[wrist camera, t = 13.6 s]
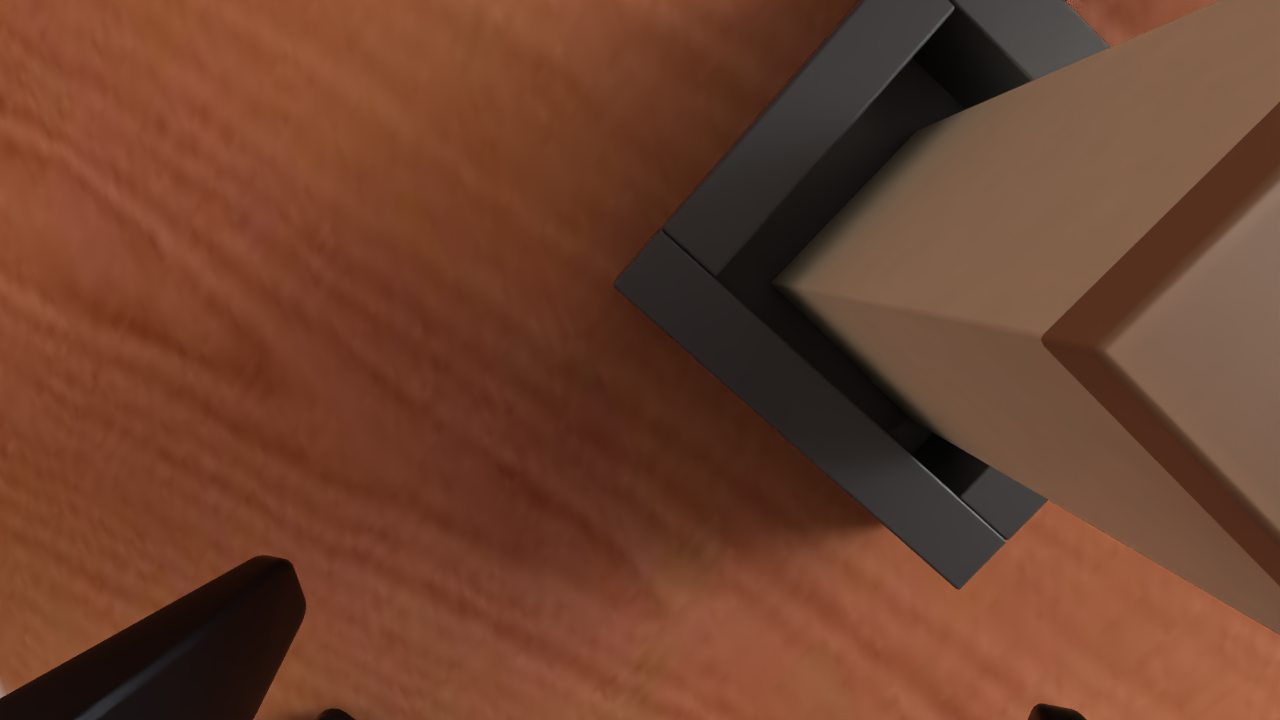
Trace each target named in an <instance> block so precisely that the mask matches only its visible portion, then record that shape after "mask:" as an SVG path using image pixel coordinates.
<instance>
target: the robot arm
mask: <svg viewBox="0 0 1280 720" xmlns="http://www.w3.org/2000/svg"><path fill="white" fill-rule="evenodd" d="M305 611H306V601H305V597H304V594H303V592H302V589H301V586H300V583H299V580H298V577H297V575H296V572H295V569H294V567H293V565H292V563H291V562H290V561H288V560H287V559H283V558H277V557H272V556H267V555H261V556H257V557H254V558H252V559H250V560H248V561H246V562H244V563H243V564H241V565H239V566H237V567H235V568H234V569H232V570H230V571H228V572H226V573H225V574H223V575H221V576H219V577H217V578H216V579H214V580H212V581H210V582H208V583H207V584H205V585H203V586H201V587H200V588H198V589H196V590H194V591H192V592H191V593H189V594H187V595H185V596H183V597H182V598H180V599H178V600H176V601H174V602H173V603H171V604H169V605H167V606H165V607H164V608H162V609H160V610H158V611H156V612H155V613H153V614H151V615H149V616H147V617H146V618H144V619H142V620H140V621H138V622H137V623H135V624H133V625H131V626H130V627H128V628H126V629H124V630H122V631H121V632H119V633H117V634H115V635H113V636H112V637H110V638H108V639H106V640H104V641H103V642H101V643H99V644H97V645H95V646H94V647H92V648H90V649H88V650H86V651H85V652H83V653H81V654H79V655H77V656H76V657H74V658H72V659H70V660H69V661H67V662H65V663H63V664H61V665H60V666H58V667H56V668H54V669H52V670H51V671H49V672H47V673H45V674H43V675H42V676H40V677H38V678H36V679H34V680H33V681H31V682H29V683H27V684H25V685H24V686H22V687H20V688H18V689H16V690H15V691H13V692H11V693H9V694H7V695H6V696H4V697H2V698H0V720H253V719H254V717H255V715H256V713H257V711H258V709H259V707H260V705H261V703H262V701H263V699H264V697H265V695H266V693H267V691H268V689H269V687H270V685H271V683H272V681H273V679H274V677H275V675H276V673H277V671H278V669H279V667H280V665H281V663H282V661H283V659H284V657H285V655H286V653H287V651H288V649H289V647H290V645H291V643H292V641H293V639H294V637H295V635H296V633H297V631H298V629H299V627H300V625H301V623H302V621H303V619H304V615H305ZM316 720H355V719H354V718H352V717H351V716H350V715H348V714H347V713H346V712H344V711H342V710H340V709H329V710H325V711H324V712H323V713H321V714H320V715H319V716H318V717H317V718H316ZM1028 720H1086V719H1085V718H1084V717H1083V716H1082V715H1081V714H1080V713H1079V712H1077V711H1075V710H1072V709H1068V708H1063V707H1058V706H1053V705H1048V704H1038V705H1036V706H1034V708H1033V709H1032V711H1031V713H1030V715H1029V718H1028Z"/></svg>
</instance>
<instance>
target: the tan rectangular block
mask: <svg viewBox="0 0 1280 720" xmlns="http://www.w3.org/2000/svg"><path fill="white" fill-rule="evenodd" d="M772 285H773V286H774V287H775V288H776V289H777V290H778V291H779V292H780V293H781V294H782V295H783V296H784V297H785V298H786V299H787V300H788V301H789V302H790V303H791V304H792V305H794V306H795V307H796V308H797V309H798V310H799V311H800V312H801V313H802V314H803V315H804V316H805V317H806V318H807V319H808V320H809V321H810V322H811V323H812V324H813V325H814V326H815V327H816V328H817V329H818V330H819V331H820V332H821V333H822V334H823V335H824V336H825V337H826V338H827V339H828V340H829V341H830V342H832V343H833V344H834V345H835V346H836V347H837V348H838V349H839V350H840V351H841V352H842V353H843V354H844V355H845V356H846V357H847V358H848V359H849V360H850V361H851V362H852V363H853V364H854V365H855V366H856V367H857V368H858V369H859V370H860V371H861V372H862V373H863V374H864V375H865V376H866V377H867V378H868V379H869V380H871V381H872V382H873V383H874V384H875V385H876V386H877V387H878V388H879V389H880V390H881V391H882V392H883V393H884V394H885V395H886V396H887V397H888V398H889V399H890V400H891V401H892V402H893V403H894V404H895V405H896V406H897V407H898V408H899V409H900V410H901V411H902V412H903V413H904V414H905V415H906V416H907V417H908V418H910V419H911V420H912V421H914V422H916V423H918V424H919V425H921V426H923V427H924V428H926V429H928V430H930V431H931V432H933V433H935V434H936V435H938V436H940V437H942V438H943V439H945V440H947V441H948V442H950V443H952V444H954V445H955V446H957V447H959V448H960V449H962V450H964V451H966V452H967V453H969V454H971V455H972V456H974V457H976V458H978V459H979V460H981V461H983V462H984V463H986V464H988V465H990V466H991V467H993V468H995V469H996V470H998V471H1000V472H1002V473H1003V474H1005V475H1007V476H1008V477H1010V478H1012V479H1014V480H1015V481H1017V482H1019V483H1020V484H1022V485H1024V486H1026V487H1027V488H1029V489H1031V490H1032V491H1034V492H1036V493H1038V494H1039V495H1041V496H1043V497H1044V498H1046V499H1048V500H1050V501H1051V502H1053V503H1055V504H1056V505H1058V506H1060V507H1062V508H1063V509H1065V510H1067V511H1068V512H1070V513H1072V514H1074V515H1075V516H1077V517H1079V518H1080V519H1082V520H1084V521H1086V522H1087V523H1089V524H1091V525H1092V526H1094V527H1096V528H1098V529H1099V530H1101V531H1103V532H1104V533H1106V534H1108V535H1110V536H1111V537H1113V538H1115V539H1116V540H1118V541H1120V542H1122V543H1123V544H1125V545H1127V546H1128V547H1130V548H1132V549H1134V550H1135V551H1137V552H1139V553H1140V554H1142V555H1144V556H1146V557H1147V558H1149V559H1151V560H1152V561H1154V562H1156V563H1158V564H1159V565H1161V566H1163V567H1164V568H1166V569H1168V570H1170V571H1171V572H1173V573H1175V574H1176V575H1178V576H1180V577H1182V578H1183V579H1185V580H1187V581H1188V582H1190V583H1192V584H1194V585H1195V586H1197V587H1199V588H1200V589H1202V590H1204V591H1206V592H1207V593H1209V594H1211V595H1212V596H1214V597H1216V598H1217V599H1219V600H1221V601H1223V602H1224V603H1226V604H1228V605H1229V606H1231V607H1233V608H1235V609H1236V610H1238V611H1240V612H1241V613H1243V614H1245V615H1247V616H1248V617H1250V618H1252V619H1253V620H1255V621H1257V622H1259V623H1260V624H1262V625H1264V626H1265V627H1267V628H1269V629H1271V630H1272V631H1274V632H1276V633H1277V634H1279V635H1280V0H1220V1H1217V2H1215V3H1213V4H1210V5H1208V6H1206V7H1203V8H1201V9H1199V10H1196V11H1194V12H1192V13H1189V14H1187V15H1185V16H1183V17H1180V18H1178V19H1176V20H1173V21H1171V22H1169V23H1166V24H1164V25H1162V26H1159V27H1157V28H1155V29H1152V30H1150V31H1148V32H1145V33H1143V34H1141V35H1138V36H1136V37H1134V38H1131V39H1129V40H1127V41H1124V42H1122V43H1120V44H1117V45H1115V46H1113V47H1110V48H1108V49H1106V50H1103V51H1101V52H1099V53H1096V54H1094V55H1092V56H1089V57H1087V58H1085V59H1082V60H1080V61H1078V62H1075V63H1073V64H1071V65H1068V66H1066V67H1064V68H1061V69H1059V70H1057V71H1055V72H1052V73H1050V74H1048V75H1045V76H1043V77H1041V78H1038V79H1036V80H1034V81H1031V82H1029V83H1027V84H1024V85H1022V86H1020V87H1017V88H1015V89H1013V90H1010V91H1008V92H1006V93H1003V94H1001V95H999V96H996V97H994V98H992V99H989V100H987V101H985V102H982V103H980V104H978V105H975V106H973V107H971V108H968V109H966V110H964V111H961V112H959V113H957V114H954V115H952V116H950V117H947V118H945V119H943V120H940V121H938V122H936V123H933V124H931V125H929V126H927V127H924V128H922V129H920V130H917V131H916V132H915V133H914V134H913V135H912V136H911V137H910V138H909V139H908V140H907V142H906V143H905V144H904V145H903V146H902V147H901V148H900V149H899V150H898V151H897V152H896V153H895V154H894V155H893V156H892V157H891V158H890V159H889V160H888V161H887V162H886V163H885V164H884V165H883V166H882V167H881V169H880V170H879V171H878V172H877V173H876V174H875V175H874V176H873V177H872V178H871V179H870V180H869V181H868V182H867V183H866V184H865V185H864V186H863V187H862V188H861V189H860V190H859V191H858V192H857V193H856V195H855V196H854V197H853V198H852V199H851V200H850V201H849V202H848V203H847V204H846V205H845V206H844V207H843V208H842V209H841V210H840V211H839V212H838V213H837V214H836V215H835V216H834V217H833V218H832V219H831V221H830V222H829V223H828V224H827V225H826V226H825V227H824V228H823V229H822V230H821V231H820V232H819V233H818V234H817V235H816V236H815V237H814V238H813V239H812V240H811V241H810V242H809V243H808V244H807V245H806V246H805V248H804V249H803V250H802V251H801V252H800V253H799V254H798V255H797V256H796V257H795V258H794V259H793V260H792V261H791V262H790V263H789V264H788V265H787V266H786V267H785V268H784V269H783V270H782V271H781V272H780V274H779V275H778V276H777V277H776V278H775V279H774V280H773V281H772Z"/></svg>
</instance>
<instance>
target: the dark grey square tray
mask: <svg viewBox="0 0 1280 720" xmlns="http://www.w3.org/2000/svg"><path fill="white" fill-rule="evenodd" d="M1108 48H1110V46H1109V45H1108V44H1107V43H1106V42H1105V41H1104V40H1103V39H1102V38H1101V37H1100V36H1099V35H1098V34H1097V33H1096V32H1095V31H1094V30H1093V29H1092V28H1091V27H1090V26H1089V25H1088V24H1087V23H1086V22H1085V21H1084V20H1083V19H1082V18H1081V17H1080V16H1079V15H1078V14H1077V13H1076V12H1075V11H1074V10H1073V9H1072V8H1071V7H1070V6H1069V5H1068V4H1067V3H1066V2H1065V1H1064V0H858V2H857V3H856V4H855V5H854V6H853V7H852V9H851V10H850V11H849V12H848V13H847V14H846V15H845V17H844V18H843V19H842V20H841V21H840V22H839V23H838V25H837V26H836V27H835V28H834V29H833V30H832V31H831V33H830V34H829V35H828V36H827V37H826V38H825V39H824V41H823V42H822V43H821V44H820V45H819V46H818V47H817V49H816V50H815V51H814V52H813V53H812V54H811V55H810V57H809V58H808V59H807V60H806V61H805V62H804V63H803V65H802V66H801V67H800V68H799V69H798V70H797V71H796V73H795V74H794V75H793V76H792V77H791V78H790V79H789V81H788V82H787V83H786V84H785V85H784V86H783V87H782V89H781V90H780V91H779V92H778V93H777V94H776V95H775V97H774V98H773V99H772V100H771V101H770V102H769V103H768V105H767V106H766V107H765V108H764V109H763V110H762V112H761V113H760V114H759V115H758V116H757V117H756V118H755V120H754V121H753V122H752V123H751V124H750V125H749V126H748V128H747V129H746V130H745V131H744V132H743V133H742V134H741V136H740V137H739V138H738V139H737V140H736V141H735V142H734V144H733V145H732V146H731V147H730V148H729V149H728V150H727V152H726V153H725V154H724V155H723V156H722V157H721V158H720V160H719V161H718V162H717V163H716V164H715V165H714V166H713V168H712V169H711V170H710V171H709V172H708V173H707V174H706V176H705V177H704V178H703V179H702V180H701V181H700V182H699V184H698V185H697V186H696V187H695V188H694V189H693V190H692V192H691V193H690V194H689V195H688V196H687V197H686V198H685V200H684V201H683V202H682V203H681V204H680V205H679V206H678V208H677V209H676V210H675V211H674V212H673V213H672V215H671V216H670V217H669V218H668V219H667V220H666V221H665V223H664V224H663V225H662V226H661V227H660V228H659V229H658V231H657V232H656V233H655V234H654V235H653V236H652V237H651V239H650V240H649V241H648V242H647V243H646V244H645V245H644V247H643V248H642V249H641V250H640V251H639V252H638V253H637V255H636V256H635V257H634V258H633V259H632V260H631V261H630V263H629V264H628V265H627V266H626V267H625V268H624V269H623V271H622V272H621V273H620V274H619V275H618V276H617V278H616V280H615V282H614V284H613V286H614V288H616V289H617V290H618V291H619V292H620V293H621V294H622V295H623V296H625V297H626V298H627V299H628V300H629V301H630V302H631V303H633V304H634V305H635V306H636V307H637V308H638V309H639V310H641V311H642V312H643V313H644V314H645V315H646V316H647V317H648V318H650V319H651V320H652V321H653V322H654V323H655V324H656V325H658V326H659V327H660V328H661V329H662V330H663V331H664V332H665V333H667V334H668V335H669V336H670V337H671V338H672V339H673V340H675V341H676V342H677V343H678V344H679V345H680V346H681V347H682V348H684V349H685V350H686V351H687V352H688V353H689V354H690V355H692V356H693V357H694V358H695V359H696V360H697V361H698V362H699V363H701V364H702V365H703V366H704V367H705V368H706V369H707V370H709V371H710V372H711V373H712V374H713V375H714V376H715V377H716V378H718V379H719V380H720V381H721V382H722V383H723V384H724V385H726V386H727V387H728V388H729V389H730V390H731V391H732V392H734V393H735V394H736V395H737V396H738V397H739V398H740V399H741V400H743V401H744V402H745V403H746V404H747V405H748V406H749V407H751V408H752V409H753V410H754V411H755V412H756V413H757V414H758V415H760V416H761V417H762V418H763V419H764V420H765V421H766V422H768V423H769V424H770V425H771V426H772V427H773V428H774V429H775V430H777V431H778V432H779V433H780V434H781V435H782V436H783V437H785V438H786V439H787V440H788V441H789V442H790V443H791V444H792V445H794V446H795V447H796V448H797V449H798V450H799V451H800V452H802V453H803V454H804V455H805V456H806V457H807V458H808V459H809V460H811V461H812V462H813V463H814V464H815V465H816V466H817V467H819V468H820V469H821V470H822V471H823V472H824V473H825V474H827V475H828V476H829V477H830V478H831V479H832V480H833V481H834V482H836V483H837V484H838V485H839V486H840V487H841V488H842V489H844V490H845V491H846V492H847V493H848V494H849V495H850V496H851V497H853V498H854V499H855V500H856V501H857V502H858V503H859V504H861V505H862V506H863V507H864V508H865V509H866V510H867V511H868V512H870V513H871V514H872V515H873V516H874V517H875V518H876V519H878V520H879V521H880V522H881V523H882V524H883V525H884V526H885V527H887V528H888V529H889V530H890V531H891V532H892V533H893V534H895V535H896V536H897V537H898V538H899V539H900V540H901V541H903V542H904V543H905V544H906V545H907V546H908V547H909V548H910V549H912V550H913V551H914V552H915V553H916V554H917V555H918V556H920V557H921V558H922V559H923V560H924V561H925V562H926V563H927V564H929V565H930V566H931V567H932V568H933V569H934V570H935V571H937V572H938V573H939V574H940V575H941V576H942V577H943V578H944V579H946V580H947V581H948V582H949V583H950V584H951V585H952V586H954V587H955V588H956V589H961V588H962V587H963V586H964V585H965V584H966V583H967V582H968V580H969V579H970V578H971V577H972V576H973V575H974V574H975V573H976V572H977V571H978V570H979V569H980V568H981V567H982V566H983V565H984V564H985V563H986V562H987V561H988V560H989V559H990V558H991V557H992V556H993V555H994V554H995V553H996V552H997V551H998V550H999V549H1000V548H1001V547H1002V546H1003V545H1004V544H1005V542H1006V541H1005V539H1006V540H1009V539H1010V538H1011V537H1012V536H1013V535H1014V534H1015V533H1016V532H1017V531H1018V530H1019V529H1020V528H1021V527H1022V526H1023V525H1024V524H1025V523H1026V522H1027V521H1028V520H1029V519H1030V518H1031V517H1032V516H1033V515H1034V514H1035V513H1036V512H1037V511H1038V510H1039V509H1040V508H1041V507H1042V506H1043V505H1044V504H1045V503H1046V501H1047V500H1048V499H1046V498H1044V497H1043V496H1041V495H1039V494H1038V493H1036V492H1034V491H1032V490H1031V489H1029V488H1027V487H1026V486H1024V485H1022V484H1020V483H1019V482H1017V481H1015V480H1014V479H1012V478H1010V477H1008V476H1007V475H1005V474H1003V473H1002V472H1000V471H998V470H996V469H995V468H993V467H991V466H990V465H988V464H986V463H984V462H983V461H981V460H979V459H978V458H976V457H974V456H972V455H971V454H969V453H967V452H966V451H964V450H962V449H960V448H959V447H957V446H955V445H954V444H952V443H950V442H948V441H947V440H945V439H943V438H942V437H940V436H938V435H936V434H935V433H933V432H931V431H930V430H928V429H926V428H924V427H923V426H921V425H919V424H918V423H916V422H914V421H912V420H911V419H910V418H908V417H907V416H906V415H905V414H904V413H903V412H902V411H901V410H900V409H899V408H898V407H897V406H896V405H895V404H894V403H893V402H892V401H891V400H890V399H889V398H888V397H887V396H886V395H885V394H884V393H883V392H882V391H881V390H880V389H879V388H878V387H877V386H876V385H875V384H874V383H873V382H872V381H871V380H869V379H868V378H867V377H866V376H865V375H864V374H863V373H862V372H861V371H860V370H859V369H858V368H857V367H856V366H855V365H854V364H853V363H852V362H851V361H850V360H849V359H848V358H847V357H846V356H845V355H844V354H843V353H842V352H841V351H840V350H839V349H838V348H837V347H836V346H835V345H834V344H833V343H832V342H830V341H829V340H828V339H827V338H826V337H825V336H824V335H823V334H822V333H821V332H820V331H819V330H818V329H817V328H816V327H815V326H814V325H813V324H812V323H811V322H810V321H809V320H808V319H807V318H806V317H805V316H804V315H803V314H802V313H801V312H800V311H799V310H798V309H797V308H796V307H795V306H794V305H792V304H791V303H790V302H789V301H788V300H787V299H786V298H785V297H784V296H783V295H782V294H781V293H780V292H779V291H778V290H777V289H776V288H775V287H774V286H773V285H772V281H773V280H774V279H775V278H776V277H777V276H778V275H779V274H780V272H781V271H782V270H783V269H784V268H785V267H786V266H787V265H788V264H789V263H790V262H791V261H792V260H793V259H794V258H795V257H796V256H797V255H798V254H799V253H800V252H801V251H802V250H803V249H804V248H805V246H806V245H807V244H808V243H809V242H810V241H811V240H812V239H813V238H814V237H815V236H816V235H817V234H818V233H819V232H820V231H821V230H822V229H823V228H824V227H825V226H826V225H827V224H828V223H829V222H830V221H831V219H832V218H833V217H834V216H835V215H836V214H837V213H838V212H839V211H840V210H841V209H842V208H843V207H844V206H845V205H846V204H847V203H848V202H849V201H850V200H851V199H852V198H853V197H854V196H855V195H856V193H857V192H858V191H859V190H860V189H861V188H862V187H863V186H864V185H865V184H866V183H867V182H868V181H869V180H870V179H871V178H872V177H873V176H874V175H875V174H876V173H877V172H878V171H879V170H880V169H881V167H882V166H883V165H884V164H885V163H886V162H887V161H888V160H889V159H890V158H891V157H892V156H893V155H894V154H895V153H896V152H897V151H898V150H899V149H900V148H901V147H902V146H903V145H904V144H905V143H906V142H907V140H908V139H909V138H910V137H911V136H912V135H913V134H914V133H915V132H916V131H917V130H920V129H922V128H924V127H927V126H929V125H931V124H933V123H936V122H938V121H940V120H943V119H945V118H947V117H950V116H952V115H954V114H957V113H959V112H961V111H964V110H966V109H968V108H971V107H973V106H975V105H978V104H980V103H982V102H985V101H987V100H989V99H992V98H994V97H996V96H999V95H1001V94H1003V93H1006V92H1008V91H1010V90H1013V89H1015V88H1017V87H1020V86H1022V85H1024V84H1027V83H1029V82H1031V81H1034V80H1036V79H1038V78H1041V77H1043V76H1045V75H1048V74H1050V73H1052V72H1055V71H1057V70H1059V69H1061V68H1064V67H1066V66H1068V65H1071V64H1073V63H1075V62H1078V61H1080V60H1082V59H1085V58H1087V57H1089V56H1092V55H1094V54H1096V53H1099V52H1101V51H1103V50H1106V49H1108Z"/></svg>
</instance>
